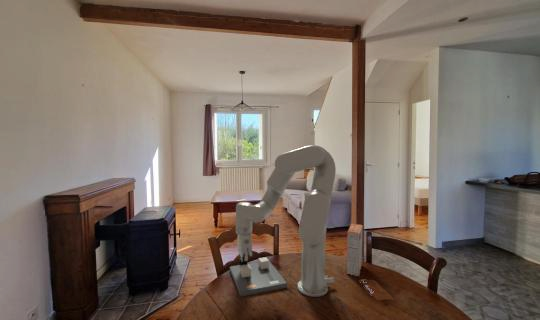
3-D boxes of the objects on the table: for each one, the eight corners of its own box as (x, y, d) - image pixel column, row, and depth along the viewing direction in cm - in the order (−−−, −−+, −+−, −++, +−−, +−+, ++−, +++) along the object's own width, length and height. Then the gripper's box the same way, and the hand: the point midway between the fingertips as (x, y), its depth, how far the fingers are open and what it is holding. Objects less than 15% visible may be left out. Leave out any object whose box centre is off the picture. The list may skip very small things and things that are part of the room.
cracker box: (349, 262, 128) (351, 223, 127) (362, 265, 125) (363, 224, 124) (345, 274, 115) (346, 230, 114) (359, 277, 112) (360, 232, 112)
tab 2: (266, 264, 119) (266, 257, 119) (269, 267, 115) (269, 260, 115) (258, 265, 118) (258, 258, 117) (260, 269, 114) (261, 261, 114)
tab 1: (248, 271, 111) (248, 264, 111) (251, 276, 107) (251, 268, 107) (240, 273, 110) (240, 265, 110) (242, 277, 106) (242, 269, 106)
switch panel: (269, 264, 124) (269, 260, 124) (286, 287, 103) (286, 282, 103) (229, 270, 117) (229, 266, 117) (240, 296, 96) (240, 291, 96)
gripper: (256, 234, 106) (255, 275, 107) (247, 224, 120) (247, 260, 121) (239, 235, 104) (239, 278, 104) (232, 225, 118) (232, 263, 118)
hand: (243, 268), depth 112 cm, fingers closed
